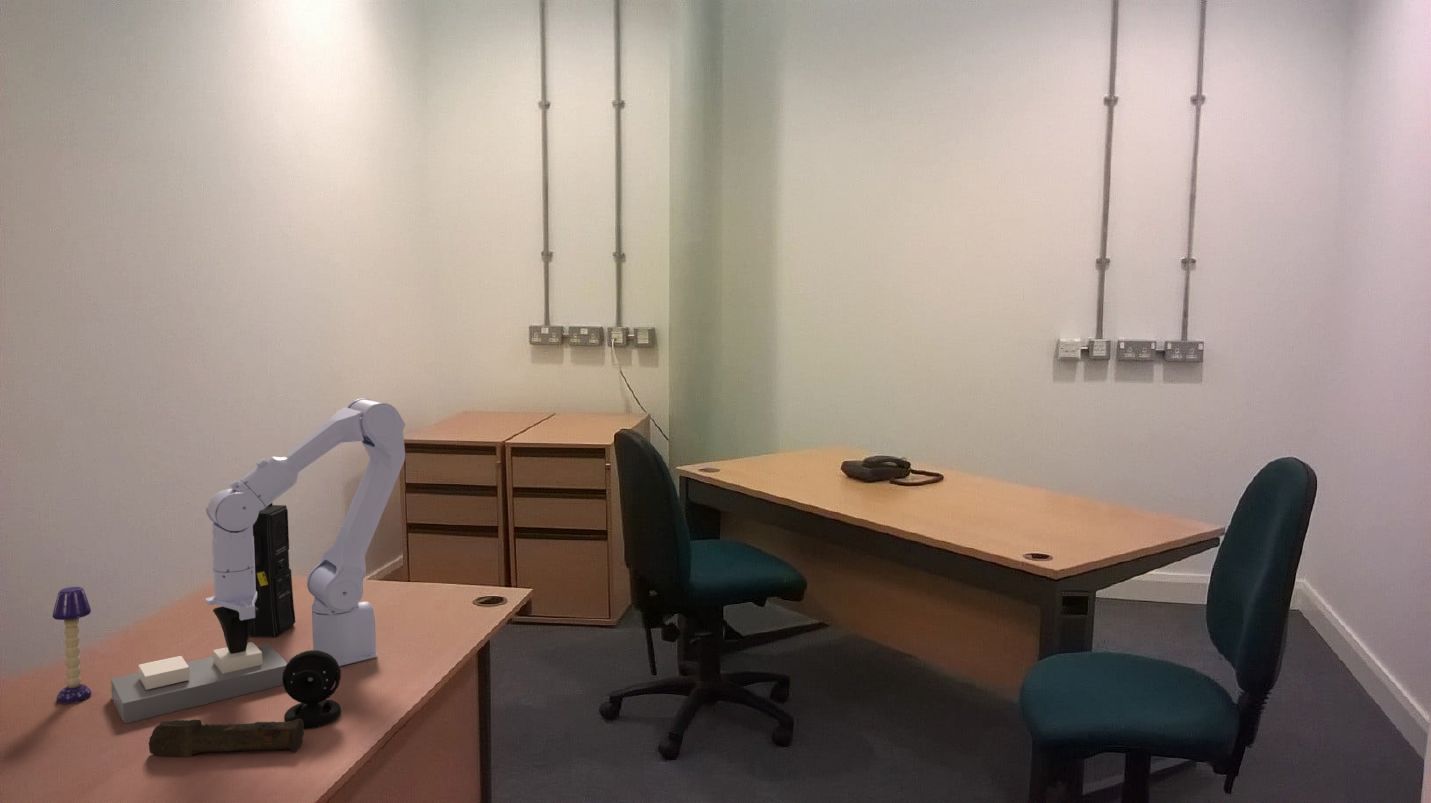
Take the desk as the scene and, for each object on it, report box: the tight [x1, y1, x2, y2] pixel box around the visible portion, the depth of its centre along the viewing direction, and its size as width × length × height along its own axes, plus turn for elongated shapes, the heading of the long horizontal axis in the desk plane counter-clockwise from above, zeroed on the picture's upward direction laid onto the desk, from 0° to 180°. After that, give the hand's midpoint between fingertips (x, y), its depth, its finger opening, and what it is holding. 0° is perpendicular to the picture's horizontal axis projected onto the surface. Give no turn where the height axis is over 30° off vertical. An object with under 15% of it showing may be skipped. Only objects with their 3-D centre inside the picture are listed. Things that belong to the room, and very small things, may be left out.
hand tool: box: [148, 719, 305, 758], centre depth 120 cm, size 19×4×5 cm, turn 96°
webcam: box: [282, 649, 342, 730], centre depth 129 cm, size 8×8×10 cm
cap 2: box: [212, 641, 262, 674], centre depth 141 cm, size 6×6×5 cm
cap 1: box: [138, 655, 190, 690], centre depth 134 cm, size 6×6×5 cm
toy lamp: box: [52, 586, 92, 704], centre depth 134 cm, size 5×5×17 cm
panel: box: [110, 644, 288, 725], centre depth 138 cm, size 22×11×3 cm, turn 131°
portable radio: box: [249, 502, 297, 638], centre depth 161 cm, size 8×6×25 cm
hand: (237, 651), depth 141 cm, fingers closed, pressing on cap 2
